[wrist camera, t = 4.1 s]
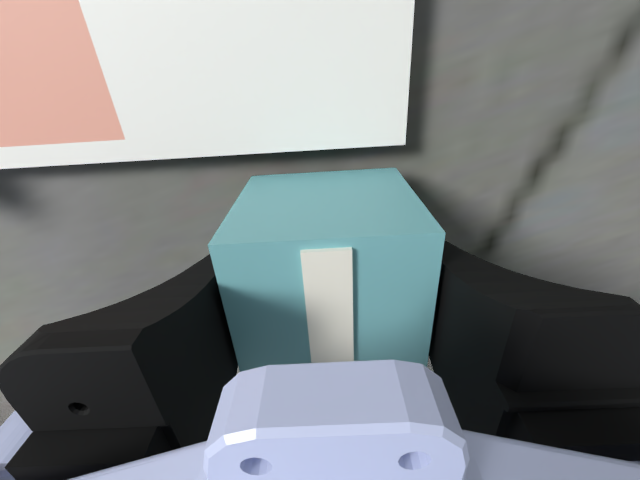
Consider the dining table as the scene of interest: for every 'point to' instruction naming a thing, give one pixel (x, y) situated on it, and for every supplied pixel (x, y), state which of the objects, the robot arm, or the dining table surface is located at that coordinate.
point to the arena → (199, 78)
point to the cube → (328, 269)
